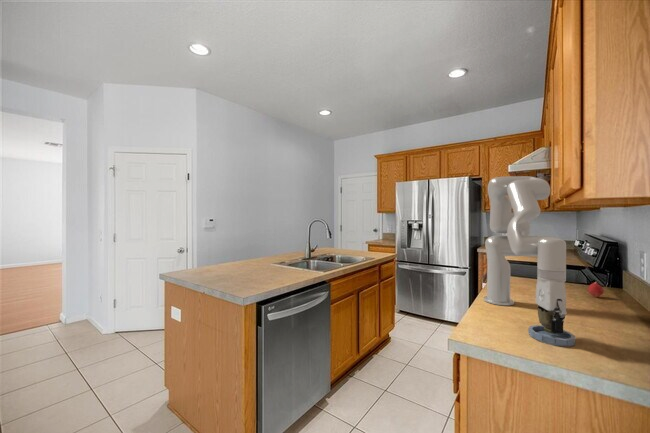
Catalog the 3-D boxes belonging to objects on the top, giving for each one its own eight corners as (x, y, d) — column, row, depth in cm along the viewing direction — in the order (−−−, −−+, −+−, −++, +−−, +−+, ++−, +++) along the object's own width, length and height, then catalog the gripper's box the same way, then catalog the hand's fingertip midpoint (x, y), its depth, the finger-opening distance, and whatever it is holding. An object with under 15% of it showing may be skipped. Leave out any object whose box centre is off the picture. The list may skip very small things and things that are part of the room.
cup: (545, 336, 92) (545, 311, 92) (532, 327, 99) (532, 304, 99) (570, 337, 91) (571, 312, 91) (555, 328, 98) (555, 305, 98)
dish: (522, 329, 102) (522, 323, 102) (561, 333, 99) (562, 327, 99) (539, 344, 90) (539, 337, 90) (583, 348, 87) (583, 341, 87)
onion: (584, 296, 146) (584, 280, 146) (593, 295, 147) (593, 280, 147) (597, 299, 141) (597, 283, 141) (606, 298, 142) (606, 282, 142)
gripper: (526, 269, 104) (526, 317, 104) (551, 280, 87) (551, 337, 87) (550, 270, 102) (550, 319, 102) (580, 281, 86) (580, 340, 86)
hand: (550, 327), depth 95 cm, fingers closed on cup, 6 cm apart
